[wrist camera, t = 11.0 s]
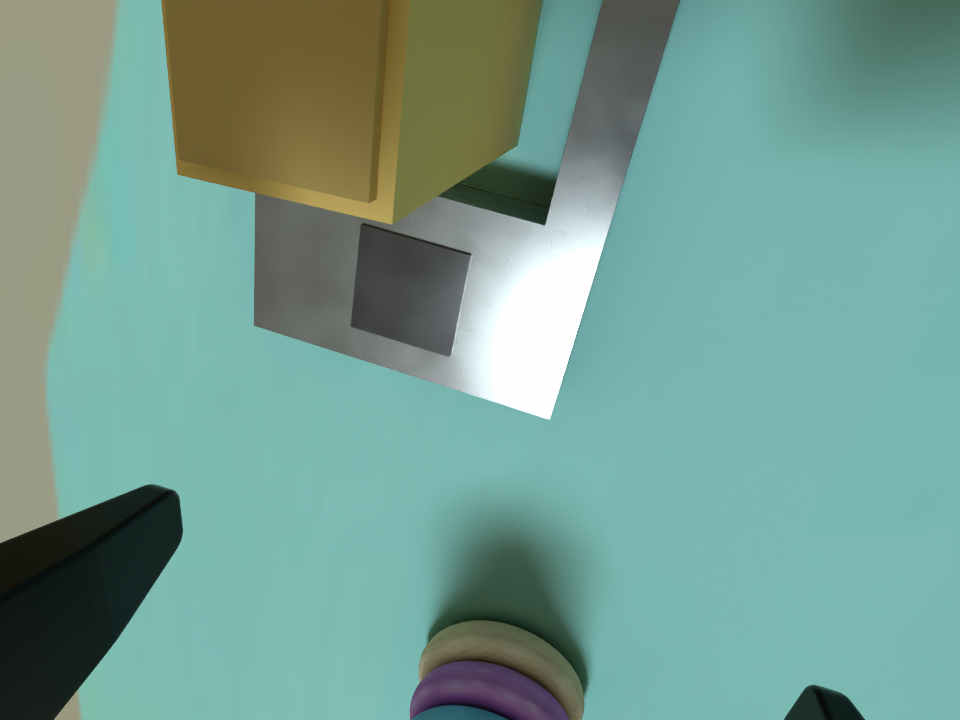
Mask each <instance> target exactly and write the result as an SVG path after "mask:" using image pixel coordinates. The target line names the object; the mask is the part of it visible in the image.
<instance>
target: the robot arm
mask: <svg viewBox="0 0 960 720" xmlns="http://www.w3.org/2000/svg"><path fill="white" fill-rule="evenodd" d="M182 534H183V526H182V517H181V508H180V499H179V495H178V494H177V493H176V491H174V490H171V489H168V488H165V487H161V486H158V485H153V484H150V485H145V486H142V487H140V488H137V489H135V490H132V491H130V492H127V493H125V494H122V495H120V496H117V497H115V498H112V499H110V500H107V501H105V502H102V503H100V504H97V505H95V506H92V507H90V508H87V509H85V510H82V511H80V512H77V513H74V514H72V515H69V516H67V517H64V518H62V519H59V520H57V521H55V522H52V523H49V524H47V525H44V526H42V527H39V528H37V529H34V530H32V531H29V532H27V533H24V534H22V535H19V536H17V537H15V538H12V539H9V540H7V541H4V542H2V543H0V720H54V719H55V717H56V716H57V715H58V714H59V712H60V711H61V709H63V707H64V706H65V705H66V704H67V702H68V701H69V700H70V699H71V697H72V696H73V695H74V694H75V692H76V691H77V690H78V689H79V687H80V686H81V685H82V684H83V682H84V681H85V680H86V679H87V677H88V676H89V675H90V674H91V672H92V671H93V670H94V669H95V667H96V666H97V665H98V663H99V662H100V661H101V660H102V658H103V657H104V656H105V655H106V653H107V652H108V651H109V649H110V648H111V647H112V645H113V644H114V643H115V642H116V640H117V639H118V637H119V636H120V634H121V633H122V632H123V630H124V629H125V627H126V626H127V624H128V623H129V621H130V620H131V618H132V617H133V615H134V614H135V612H136V611H137V609H138V608H139V606H140V604H141V603H142V601H143V600H144V598H145V597H146V595H147V594H148V592H149V591H150V589H151V588H152V586H153V585H154V583H155V582H156V580H157V579H158V577H159V575H160V574H161V572H162V571H163V569H164V568H165V566H166V565H167V563H168V562H169V560H170V559H171V557H172V556H173V554H174V553H175V551H176V550H177V548H178V546H179V544H180V542H181V539H182ZM784 720H865V719H864V718H863V716H862V715H861V714H860V712H859V711H858V710H857V708H856V707H855V706H854V704H853V703H852V702H851V701H850V700H849V699H848V698H847V697H846V696H845V695H844V694H842V693H840V692H837V691H834V690H830V689H827V688H824V687H821V686H817V685H810V686H808V687H806V688H805V689H804V691H803V692H802V693H801V695H800V696H799V698H798V699H797V701H796V702H795V704H794V705H793V707H792V708H791V710H790V711H789V713H788V714H787V715H786V717H785V719H784Z"/></svg>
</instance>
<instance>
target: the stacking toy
mask: <svg viewBox="0 0 960 720" xmlns="http://www.w3.org/2000/svg"><path fill="white" fill-rule="evenodd" d="M419 681H420V683H419V685H418V686H417V688H416V690H415V692H414V694H413V697H412V701H411V705H410V720H582V717H583V713H584V694H583V689H582V686H581V683H580V680H579V678H578V676H577V674H576V673H575V671H574V669H573V668H572V666H571V665H570V663H569V662H568V661H567V660H566V659H565V657H564V656H563V655H562V654H561V653H560V652H558V651H557V650H556V649H555V648H554V647H553V646H551V645H550V644H549V643H547V642H546V641H544V640H543V639H541V638H540V637H538V636H536V635H534V634H532V633H530V632H528V631H526V630H524V629H521V628H519V627H516V626H513V625H509V624H505V623H501V622H495V621H487V620H474V621H466V622H461V623H457V624H454V625H451V626H449V627H447V628H445V629H443V630H441V631H440V632H439V633H437V634H436V635H435V636H434V637H433V638H432V639H431V640H430V641H429V643H428V644H427V645H426V647H425V649H424V651H423V653H422V655H421V659H420V664H419Z"/></svg>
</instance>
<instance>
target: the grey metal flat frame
mask: <svg viewBox="0 0 960 720" xmlns="http://www.w3.org/2000/svg"><path fill="white" fill-rule="evenodd" d="M679 1H680V0H603V2H602V6H601V9H600V13H599V17H598V21H597V25H596V29H595V33H594V37H593V41H592V45H591V49H590V52H589V56H588V60H587V64H586V68H585V72H584V76H583V80H582V84H581V88H580V92H579V95H578V99H577V103H576V107H575V111H574V115H573V119H572V123H571V127H570V131H569V135H568V138H567V142H566V146H565V150H564V154H563V158H562V162H561V166H560V170H559V174H558V177H557V181H556V185H555V189H554V193H553V197H552V201H551V205H550V209H549V208H545V207H542V206H538V205H534V204H531V203H527V202H523V201H519V200H516V199H512V198H508V197H504V196H501V195H497V194H493V193H490V192H486V191H482V190H478V189H475V188H471V187H467V186H463V185H460V184H456V185H454V186H452V187H451V188H449V189H448V190H446V191H444V192H443V193H441V194H440V195H438V196H437V197H435V198H433V199H432V200H430V201H429V202H427V203H425V204H424V205H422V206H421V207H419V208H418V209H416V210H414V211H413V212H411V213H410V214H408V215H406V216H405V217H403V218H402V219H400V220H399V221H397V222H395V223H394V224H387V223H383V222H379V221H374V220H370V219H366V218H362V217H357V216H353V215H349V214H344V213H340V212H336V211H332V210H327V209H323V208H319V207H314V206H310V205H306V204H302V203H297V202H293V201H289V200H284V199H280V198H276V197H272V196H267V195H263V194H259V193H255V282H254V326H257V327H260V328H263V329H266V330H270V331H273V332H276V333H279V334H282V335H285V336H289V337H292V338H295V339H298V340H301V341H304V342H307V343H311V344H314V345H317V346H320V347H323V348H326V349H329V350H333V351H336V352H339V353H342V354H345V355H348V356H351V357H355V358H358V359H361V360H364V361H367V362H370V363H374V364H377V365H380V366H383V367H386V368H389V369H392V370H396V371H399V372H402V373H405V374H408V375H411V376H414V377H418V378H421V379H424V380H427V381H430V382H433V383H436V384H440V385H443V386H446V387H449V388H452V389H455V390H459V391H462V392H465V393H468V394H471V395H474V396H477V397H481V398H484V399H487V400H490V401H493V402H496V403H499V404H503V405H506V406H509V407H512V408H515V409H518V410H521V411H525V412H528V413H531V414H534V415H537V416H540V417H544V418H547V419H550V416H551V413H552V410H553V407H554V404H555V400H556V397H557V394H558V391H559V387H560V384H561V381H562V378H563V375H564V371H565V368H566V365H567V362H568V358H569V355H570V352H571V349H572V346H573V342H574V339H575V336H576V333H577V329H578V326H579V323H580V320H581V317H582V313H583V310H584V307H585V304H586V300H587V297H588V294H589V291H590V288H591V284H592V281H593V278H594V275H595V271H596V268H597V265H598V262H599V259H600V255H601V252H602V249H603V246H604V243H605V239H606V236H607V233H608V230H609V226H610V223H611V220H612V217H613V214H614V210H615V207H616V204H617V201H618V197H619V194H620V191H621V188H622V185H623V181H624V178H625V175H626V172H627V168H628V165H629V162H630V159H631V156H632V152H633V149H634V146H635V143H636V139H637V136H638V133H639V130H640V127H641V123H642V120H643V117H644V114H645V111H646V107H647V104H648V101H649V98H650V94H651V91H652V88H653V85H654V82H655V78H656V75H657V72H658V69H659V65H660V62H661V59H662V56H663V53H664V49H665V46H666V43H667V40H668V36H669V33H670V30H671V27H672V24H673V20H674V17H675V14H676V11H677V7H678V4H679Z"/></svg>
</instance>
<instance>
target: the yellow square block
mask: <svg viewBox="0 0 960 720" xmlns="http://www.w3.org/2000/svg"><path fill="white" fill-rule="evenodd" d="M161 2H162V13H163V23H164V34H165V45H166V56H167V67H168V77H169V88H170V99H171V110H172V121H173V131H174V142H175V153H176V164H177V175H181V176H186V177H190V178H194V179H199V180H203V181H207V182H212V183H216V184H220V185H224V186H229V187H233V188H237V189H242V190H246V191H250V192H254V193H259V194H263V195H267V196H272V197H276V198H280V199H284V200H289V201H293V202H297V203H302V204H306V205H310V206H314V207H319V208H323V209H327V210H332V211H336V212H340V213H344V214H349V215H353V216H357V217H362V218H366V219H370V220H374V221H379V222H383V223H387V224H394V223H395V222H397V221H399V220H400V219H402V218H403V217H405V216H406V215H408V214H410V213H411V212H413V211H414V210H416V209H418V208H419V207H421V206H422V205H424V204H425V203H427V202H429V201H430V200H432V199H433V198H435V197H437V196H438V195H440V194H441V193H443V192H444V191H446V190H448V189H449V188H451V187H452V186H454V185H456V184H457V183H459V182H460V181H462V180H463V179H465V178H467V177H468V176H470V175H471V174H473V173H475V172H476V171H478V170H479V169H481V168H482V167H484V166H486V165H487V164H489V163H490V162H492V161H494V160H495V159H497V158H498V157H500V156H501V155H503V154H505V153H506V152H508V151H509V150H511V149H513V148H514V147H516V146H517V145H518V139H519V133H520V127H521V122H522V116H523V110H524V104H525V98H526V93H527V87H528V81H529V75H530V70H531V64H532V58H533V52H534V46H535V41H536V35H537V29H538V23H539V17H540V12H541V6H542V0H161Z"/></svg>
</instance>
